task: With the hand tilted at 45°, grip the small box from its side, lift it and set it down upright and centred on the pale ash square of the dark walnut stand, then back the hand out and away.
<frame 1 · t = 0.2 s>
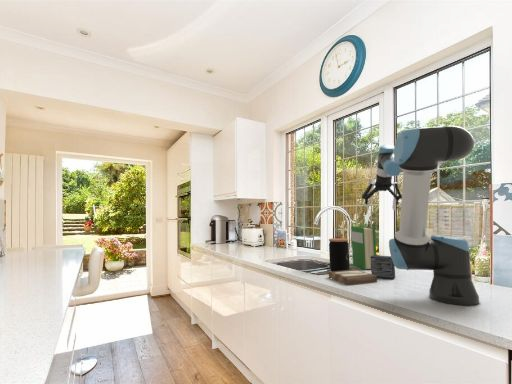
hand: (380, 209, 156), 34 cm above the worktop, tool tilted 30°, fingers open, 13 cm apart
small box: (383, 277, 141), on the worktop
walnut stand: (351, 279, 136), on the worktop
hardback book: (364, 267, 167), on the worktop
coffee jar: (339, 271, 156), on the worktop
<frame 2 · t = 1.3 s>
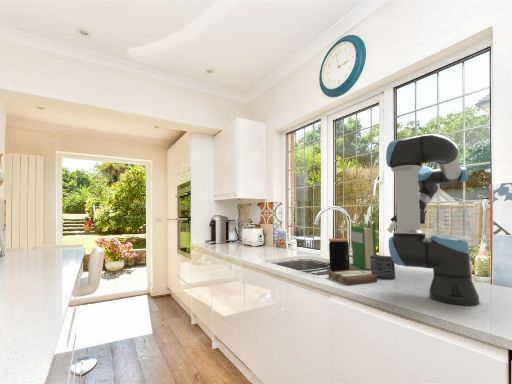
hand: (398, 232, 146), 22 cm above the worktop, tool tilted 45°, fingers open, 13 cm apart
nothing on the worktop moved.
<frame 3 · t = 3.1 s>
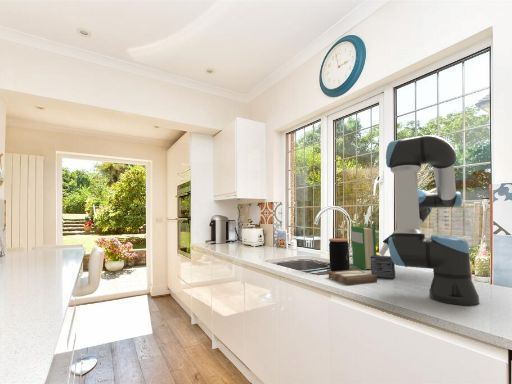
hand: (390, 255, 144), 10 cm above the worktop, tool tilted 45°, fingers open, 13 cm apart
nothing on the worktop moved.
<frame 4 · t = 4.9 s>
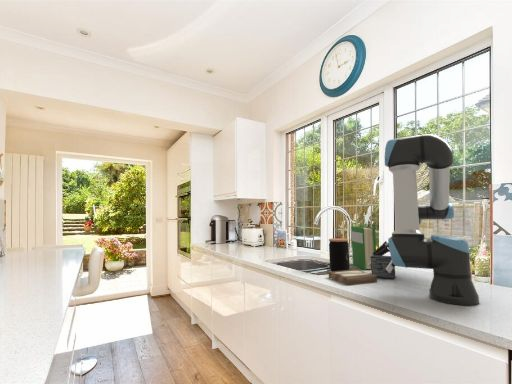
hand: (378, 268, 140), 4 cm above the worktop, tool tilted 45°, fingers closed on small box, 11 cm apart
small box: (383, 277, 141), on the worktop, touching gripper
everything else where it was.
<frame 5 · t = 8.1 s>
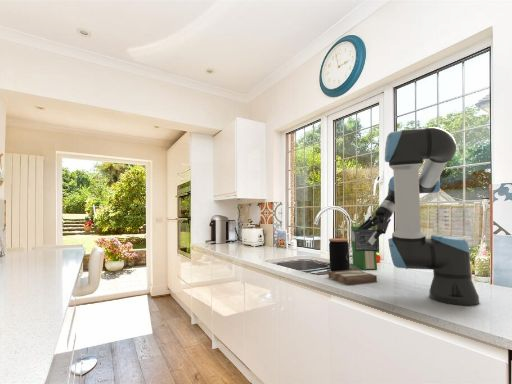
hand: (362, 242, 141), 18 cm above the worktop, tool tilted 45°, fingers closed on small box, 11 cm apart
small box: (367, 250, 141), point 13 cm above the worktop, touching gripper
everything else where it was.
when the fingers open (9 cm above the worktop, at t = 11.3 s): small box drops 1 cm, resting on walnut stand.
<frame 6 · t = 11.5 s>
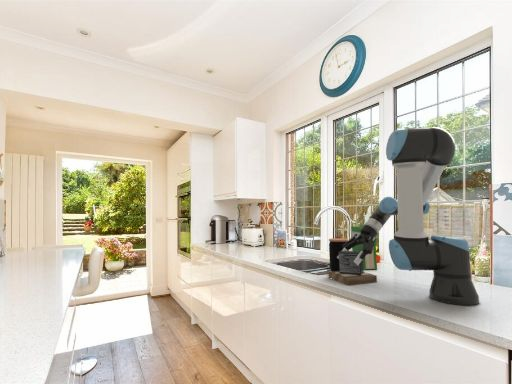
hand: (346, 261, 136), 9 cm above the worktop, tool tilted 45°, fingers open, 13 cm apart
small box: (351, 273, 137), point 3 cm above the worktop, touching walnut stand
everything else where it was.
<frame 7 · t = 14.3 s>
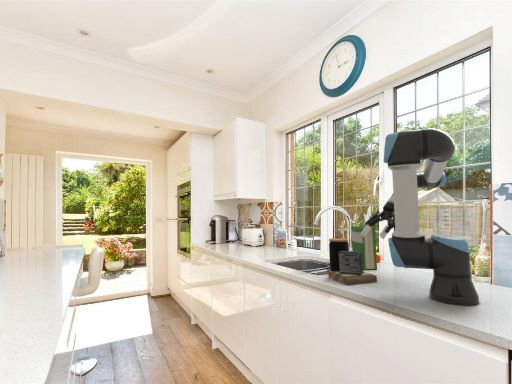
hand: (371, 236, 142), 21 cm above the worktop, tool tilted 45°, fingers open, 13 cm apart
nothing on the worktop moved.
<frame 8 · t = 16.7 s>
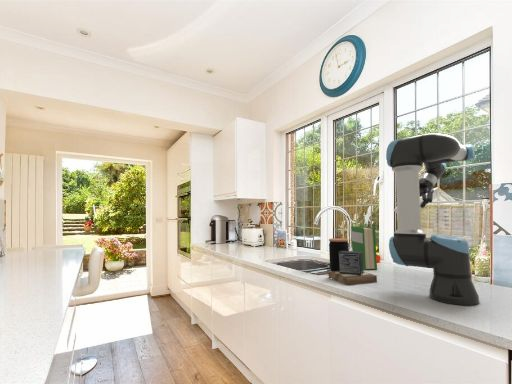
hand: (405, 211, 145), 33 cm above the worktop, tool tilted 45°, fingers open, 13 cm apart
nothing on the worktop moved.
at the end: small box inside the target area on the walnut stand (0.1 cm from its centre), point 3.0 cm above the walnut stand's base; small box tilted 0°; the gripper is holding nothing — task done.
